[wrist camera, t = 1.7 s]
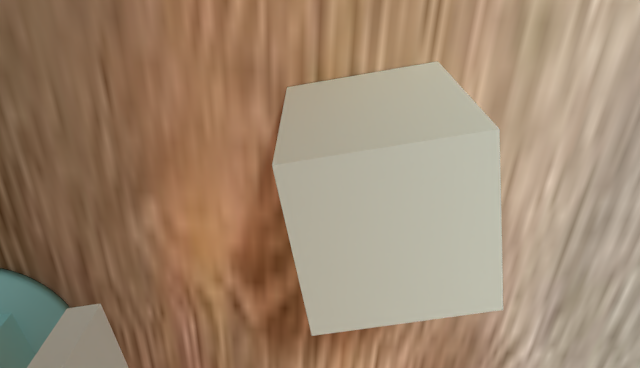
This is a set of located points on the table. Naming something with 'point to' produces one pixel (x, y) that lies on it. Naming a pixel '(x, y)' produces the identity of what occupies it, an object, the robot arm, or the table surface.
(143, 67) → the table surface
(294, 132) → the white rectangular block
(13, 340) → the teal post on base
